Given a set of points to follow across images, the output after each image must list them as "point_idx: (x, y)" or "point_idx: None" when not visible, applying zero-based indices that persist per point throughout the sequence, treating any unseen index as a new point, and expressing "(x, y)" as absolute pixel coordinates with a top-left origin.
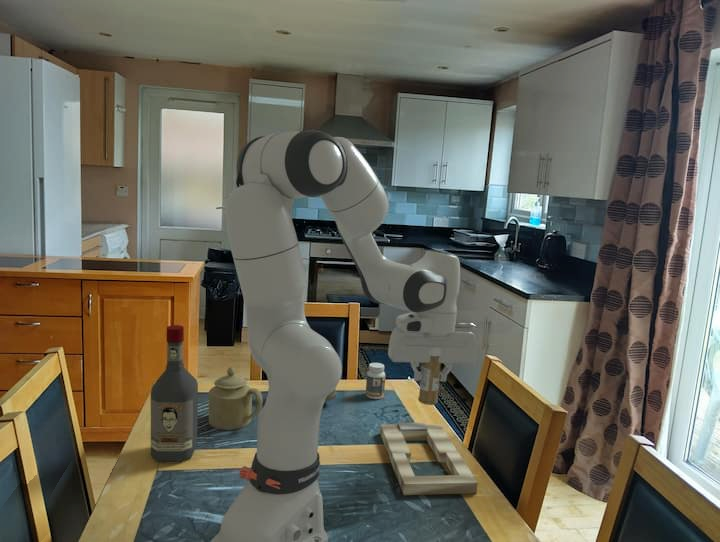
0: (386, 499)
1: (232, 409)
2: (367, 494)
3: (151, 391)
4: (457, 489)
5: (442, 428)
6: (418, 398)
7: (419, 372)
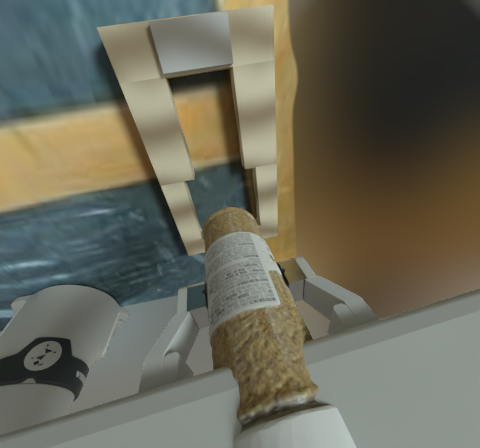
0: (170, 256)
1: None
2: (145, 252)
3: None
4: None
5: (273, 40)
6: (202, 235)
7: (200, 316)
